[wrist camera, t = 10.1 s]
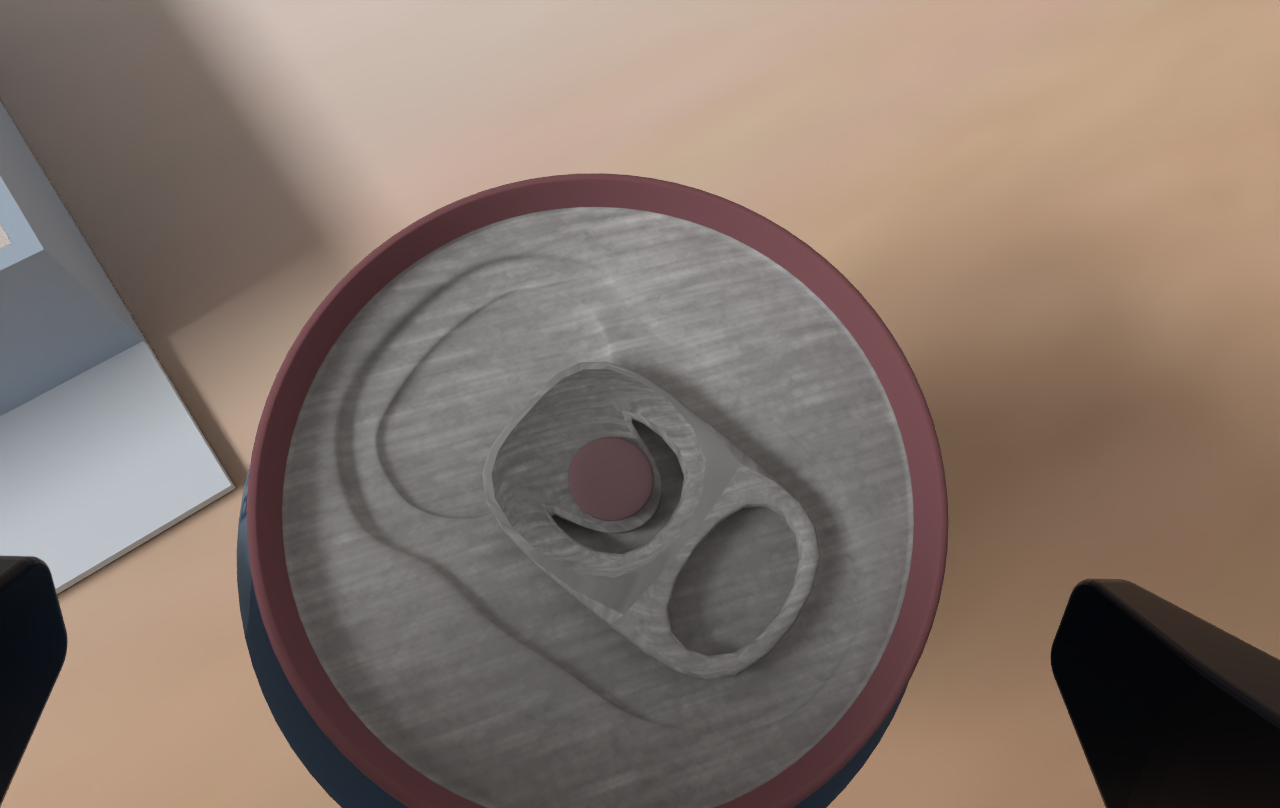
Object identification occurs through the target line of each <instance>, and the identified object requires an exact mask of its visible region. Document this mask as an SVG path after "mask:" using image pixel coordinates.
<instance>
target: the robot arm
mask: <svg viewBox="0 0 1280 808" xmlns="http://www.w3.org/2000/svg"><path fill="white" fill-rule="evenodd" d="M66 652H67V633H66V628H65V624H64V620H63V616H62V613H61V609H60V605H59V601H58V597H57V593H56V589H55V586H54V582H53V578H52V574H51V572H50V569H49V567H48V565H47V564H46V563H45V562H44V561H43V560H41V559H39V558H37V557H34V556H0V806H1V804H2V802H3V799H4V797H5V795H6V793H7V790H8V788H9V786H10V784H11V781H12V779H13V777H14V775H15V772H16V770H17V768H18V766H19V763H20V761H21V759H22V757H23V754H24V752H25V750H26V748H27V745H28V743H29V741H30V738H31V736H32V734H33V732H34V729H35V727H36V725H37V723H38V720H39V718H40V716H41V714H42V711H43V709H44V707H45V705H46V702H47V700H48V698H49V696H50V693H51V691H52V689H53V687H54V684H55V682H56V680H57V678H58V675H59V673H60V671H61V669H62V666H63V663H64V660H65V656H66ZM1051 666H1052V671H1053V674H1054V677H1055V680H1056V682H1057V685H1058V688H1059V690H1060V693H1061V695H1062V698H1063V700H1064V703H1065V705H1066V708H1067V710H1068V713H1069V715H1070V718H1071V721H1072V723H1073V726H1074V728H1075V731H1076V733H1077V736H1078V738H1079V741H1080V743H1081V746H1082V748H1083V751H1084V753H1085V756H1086V759H1087V761H1088V764H1089V766H1090V769H1091V771H1092V774H1093V776H1094V779H1095V781H1096V784H1097V786H1098V789H1099V792H1100V794H1101V797H1102V799H1103V802H1104V804H1105V806H1106V808H1280V660H1279V659H1277V658H1275V657H1273V656H1271V655H1269V654H1267V653H1265V652H1263V651H1261V650H1260V649H1258V648H1256V647H1254V646H1252V645H1250V644H1248V643H1246V642H1244V641H1242V640H1241V639H1239V638H1237V637H1235V636H1233V635H1231V634H1229V633H1227V632H1225V631H1223V630H1222V629H1220V628H1218V627H1216V626H1214V625H1212V624H1210V623H1208V622H1206V621H1204V620H1203V619H1201V618H1199V617H1197V616H1195V615H1193V614H1191V613H1189V612H1187V611H1185V610H1183V609H1182V608H1180V607H1178V606H1176V605H1174V604H1172V603H1170V602H1168V601H1166V600H1164V599H1163V598H1161V597H1159V596H1157V595H1155V594H1153V593H1151V592H1149V591H1147V590H1145V589H1144V588H1142V587H1140V586H1138V585H1136V584H1134V583H1132V582H1130V581H1126V580H1121V579H1086V580H1083V581H1081V582H1079V583H1078V584H1077V585H1076V586H1075V587H1074V589H1073V591H1072V593H1071V596H1070V598H1069V601H1068V604H1067V606H1066V609H1065V612H1064V615H1063V617H1062V620H1061V623H1060V625H1059V628H1058V631H1057V633H1056V636H1055V639H1054V641H1053V644H1052V649H1051Z"/></svg>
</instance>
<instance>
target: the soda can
mask: <svg viewBox="0 0 1280 808" xmlns="http://www.w3.org/2000/svg"><path fill="white" fill-rule="evenodd" d="M947 542H948V504H947V490H946V482H945V473H944V467H943V462H942V456H941V451H940V446H939V442H938V438H937V435H936V431H935V427H934V424H933V420H932V417H931V414H930V412H929V409H928V406H927V403H926V400H925V398H924V395H923V393H922V390H921V388H920V386H919V384H918V381H917V379H916V377H915V374H914V372H913V371H912V369H911V367H910V365H909V363H908V361H907V359H906V357H905V355H904V353H903V352H902V350H901V348H900V347H899V345H898V344H897V342H896V340H895V339H894V337H893V335H892V334H891V332H890V331H889V329H888V328H887V327H886V325H885V324H884V322H883V321H882V320H881V318H880V317H879V315H878V314H877V313H876V311H875V310H874V309H873V308H872V306H871V305H870V304H869V303H868V302H867V300H866V299H865V298H864V297H863V296H862V294H861V293H860V292H859V291H858V290H857V289H856V288H855V287H854V286H853V285H852V284H851V283H850V282H849V281H848V280H847V279H846V278H845V276H844V275H843V274H842V273H840V272H839V271H838V270H837V269H836V268H835V267H834V266H833V265H832V264H830V263H829V262H828V261H827V260H826V259H825V258H824V257H823V256H821V255H820V254H819V253H817V252H816V251H815V250H814V249H812V248H811V247H810V246H809V245H807V244H806V243H805V242H803V241H802V240H800V239H799V238H797V237H796V236H794V235H793V234H792V233H790V232H789V231H787V230H786V229H784V228H782V227H781V226H779V225H777V224H776V223H774V222H772V221H770V220H769V219H767V218H765V217H763V216H761V215H759V214H757V213H755V212H753V211H751V210H749V209H747V208H745V207H744V206H741V205H739V204H736V203H734V202H732V201H729V200H727V199H725V198H722V197H720V196H717V195H714V194H711V193H708V192H705V191H702V190H699V189H696V188H692V187H688V186H685V185H681V184H677V183H673V182H668V181H663V180H658V179H653V178H646V177H638V176H630V175H617V174H570V175H556V176H549V177H542V178H535V179H529V180H524V181H519V182H515V183H510V184H506V185H502V186H499V187H496V188H492V189H489V190H485V191H482V192H479V193H477V194H474V195H471V196H468V197H466V198H463V199H460V200H458V201H456V202H454V203H451V204H449V205H447V206H445V207H442V208H440V209H438V210H436V211H434V212H432V213H430V214H429V215H427V216H425V217H423V218H421V219H419V220H418V221H416V222H414V223H412V224H411V225H409V226H408V227H406V228H405V229H403V230H401V231H400V232H398V233H397V234H395V235H394V236H392V237H391V238H390V239H388V240H387V241H386V242H384V243H383V244H382V245H380V246H379V247H378V248H376V249H375V250H374V251H372V252H371V253H370V254H369V255H368V256H367V257H366V258H364V259H363V260H362V261H361V262H360V263H359V264H357V265H356V266H355V267H354V268H353V269H352V270H351V271H350V272H349V273H348V274H347V275H346V276H345V277H344V278H343V279H342V280H341V281H340V282H339V283H338V284H337V285H336V286H335V287H334V289H333V290H332V291H331V292H330V293H329V295H328V296H327V297H326V298H325V299H324V300H323V302H322V303H321V304H320V305H319V306H318V308H317V309H316V311H315V312H314V313H313V315H312V316H311V317H310V319H309V320H308V322H307V323H306V324H305V326H304V327H303V329H302V330H301V332H300V334H299V335H298V337H297V338H296V340H295V342H294V343H293V345H292V347H291V348H290V350H289V352H288V354H287V356H286V358H285V360H284V362H283V364H282V366H281V368H280V370H279V372H278V374H277V376H276V378H275V381H274V383H273V386H272V388H271V390H270V393H269V395H268V398H267V400H266V403H265V407H264V410H263V413H262V416H261V419H260V422H259V425H258V430H257V434H256V438H255V443H254V447H253V451H252V458H251V464H250V467H249V470H248V475H247V479H246V483H245V488H244V492H243V497H242V504H241V511H240V518H239V526H238V542H237V582H238V593H239V603H240V611H241V617H242V622H243V628H244V634H245V639H246V642H247V646H248V650H249V654H250V657H251V661H252V665H253V668H254V671H255V673H256V676H257V679H258V682H259V684H260V687H261V690H262V693H263V695H264V697H265V699H266V701H267V704H268V706H269V708H270V710H271V712H272V714H273V716H274V718H275V721H276V722H277V724H278V726H279V728H280V729H281V731H282V733H283V734H284V736H285V738H286V739H287V741H288V743H289V744H290V746H291V748H292V749H293V751H294V752H295V753H296V755H297V756H298V757H299V759H300V760H301V762H302V763H303V764H304V766H305V767H306V768H307V770H308V771H309V773H310V774H311V775H312V776H313V777H314V778H315V779H316V781H317V782H318V783H319V784H320V785H321V786H322V788H323V789H324V790H325V791H326V792H327V793H328V794H329V796H330V797H332V798H333V799H334V800H335V801H336V802H337V803H338V804H339V805H340V806H341V807H342V808H826V807H827V806H828V805H829V804H830V803H831V802H832V801H833V800H834V799H835V798H836V797H837V796H838V795H839V794H840V793H841V792H842V791H843V790H844V789H845V787H846V786H847V785H848V784H849V783H850V781H851V780H852V779H853V778H854V776H855V775H856V774H857V773H858V771H859V770H860V769H861V768H862V767H863V765H864V764H865V762H866V761H867V759H868V758H869V756H870V755H871V753H872V752H873V751H874V749H875V748H876V746H877V745H878V743H879V742H880V740H881V738H882V736H883V735H884V733H885V731H886V729H887V727H888V726H889V724H890V722H891V720H892V719H893V717H894V714H895V712H896V710H897V708H898V706H899V704H900V702H901V699H902V697H903V695H904V693H905V690H906V688H907V685H908V682H909V680H910V678H911V676H912V674H913V672H914V670H915V667H916V665H917V663H918V661H919V659H920V657H921V655H922V652H923V650H924V647H925V644H926V641H927V639H928V636H929V633H930V631H931V628H932V625H933V621H934V618H935V614H936V610H937V607H938V603H939V599H940V594H941V589H942V584H943V579H944V573H945V564H946V555H947Z"/></svg>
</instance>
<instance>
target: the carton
mask: <svg viewBox="0 0 1280 808" xmlns="http://www.w3.org/2000/svg"><path fill="white" fill-rule="evenodd" d="M0 224H1V226H2V227H3V229H4V231H5V233H6V234H7V236H8V238H9V239H10V241H11V244H9V245H7V246H5V247H3V248H1V249H0V556H34V557H37V558H39V559H41V560H43V561H44V562H45V563H46V564H47V565H48V567H49V569H50V572H51V574H52V578H53V582H54V586H55V589H56V593H57V594H58V593H60V592H62V591H63V590H65V589H67V588H69V587H70V586H72V585H74V584H75V583H77V582H79V581H80V580H82V579H84V578H85V577H87V576H89V575H90V574H92V573H94V572H96V571H97V570H99V569H101V568H102V567H104V566H106V565H107V564H109V563H111V562H112V561H114V560H116V559H117V558H119V557H121V556H122V555H124V554H126V553H128V552H129V551H131V550H133V549H134V548H136V547H138V546H139V545H141V544H143V543H144V542H146V541H148V540H149V539H151V538H153V537H155V536H156V535H158V534H160V533H161V532H163V531H165V530H166V529H168V528H170V527H171V526H173V525H175V524H176V523H178V522H180V521H181V520H183V519H185V518H187V517H188V516H190V515H192V514H193V513H195V512H197V511H198V510H200V509H202V508H203V507H205V506H207V505H208V504H210V503H212V502H214V501H215V500H217V499H219V498H220V497H222V496H224V495H225V494H227V493H229V492H230V491H232V490H234V489H235V486H234V485H233V483H232V481H231V480H230V478H229V476H228V475H227V473H226V471H225V470H224V468H223V466H222V465H221V463H220V462H219V460H218V458H217V457H216V455H215V453H214V452H213V450H212V448H211V447H210V445H209V443H208V442H207V440H206V438H205V437H204V435H203V434H202V432H201V430H200V429H199V427H198V425H197V424H196V422H195V420H194V419H193V417H192V415H191V414H190V412H189V410H188V409H187V407H186V406H185V404H184V402H183V401H182V399H181V397H180V396H179V394H178V392H177V391H176V389H175V387H174V386H173V384H172V382H171V381H170V379H169V378H168V376H167V374H166V373H165V371H164V369H163V368H162V366H161V364H160V363H159V361H158V359H157V358H156V356H155V354H154V353H153V351H152V349H151V348H150V346H149V345H148V343H147V341H146V340H145V338H144V336H143V335H142V333H141V331H140V330H139V328H138V326H137V325H136V323H135V321H134V320H133V318H132V317H131V315H130V313H129V312H128V310H127V308H126V307H125V305H124V303H123V302H122V300H121V298H120V297H119V295H118V293H117V292H116V290H115V289H114V287H113V285H112V284H111V282H110V280H109V279H108V277H107V275H106V274H105V272H104V270H103V269H102V267H101V265H100V264H99V262H98V261H97V259H96V257H95V256H94V254H93V252H92V251H91V249H90V247H89V246H88V244H87V242H86V241H85V239H84V237H83V236H82V234H81V233H80V231H79V229H78V228H77V226H76V224H75V223H74V221H73V219H72V218H71V216H70V214H69V213H68V211H67V209H66V208H65V206H64V205H63V203H62V201H61V200H60V198H59V196H58V195H57V193H56V191H55V190H54V188H53V186H52V185H51V183H50V181H49V180H48V178H47V177H46V175H45V173H44V172H43V170H42V168H41V167H40V165H39V163H38V162H37V160H36V158H35V157H34V155H33V153H32V152H31V150H30V148H29V147H28V145H27V144H26V142H25V140H24V139H23V137H22V135H21V134H20V132H19V130H18V129H17V127H16V125H15V124H14V122H13V120H12V119H11V117H10V116H9V114H8V112H7V111H6V109H5V107H4V106H3V104H2V102H1V101H0Z"/></svg>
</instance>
